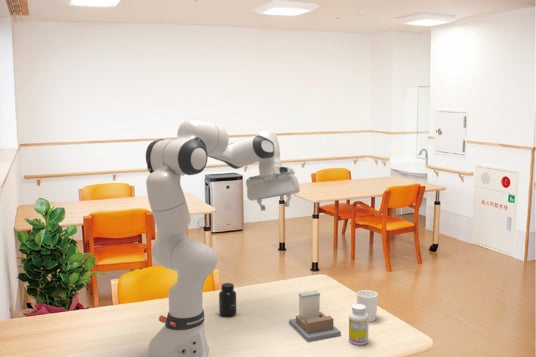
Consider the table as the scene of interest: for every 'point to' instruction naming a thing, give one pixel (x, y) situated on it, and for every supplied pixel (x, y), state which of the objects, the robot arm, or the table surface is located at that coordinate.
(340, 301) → the table surface
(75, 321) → the table surface
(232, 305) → the supplement bottle
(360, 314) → the supplement bottle
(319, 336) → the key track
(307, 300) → the push key
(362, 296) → the white cup
